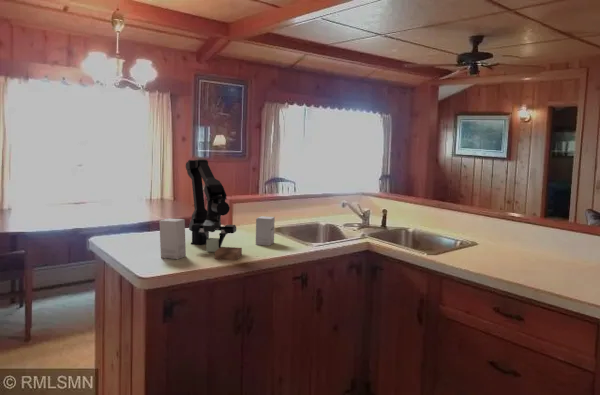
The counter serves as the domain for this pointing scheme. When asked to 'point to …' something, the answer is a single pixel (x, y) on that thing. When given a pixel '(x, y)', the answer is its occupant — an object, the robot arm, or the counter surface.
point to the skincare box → (172, 238)
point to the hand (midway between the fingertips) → (213, 247)
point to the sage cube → (212, 244)
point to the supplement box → (265, 230)
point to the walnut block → (228, 253)
